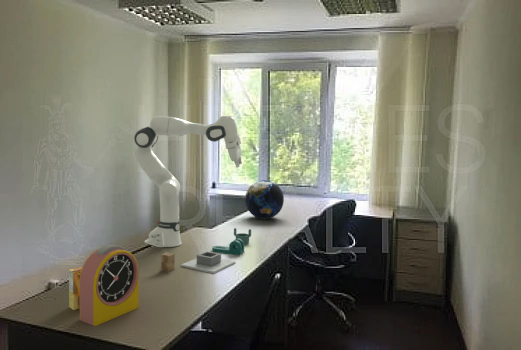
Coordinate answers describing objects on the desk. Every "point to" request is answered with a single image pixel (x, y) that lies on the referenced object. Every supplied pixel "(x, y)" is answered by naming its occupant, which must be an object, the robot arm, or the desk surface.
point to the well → (208, 262)
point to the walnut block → (167, 262)
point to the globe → (264, 199)
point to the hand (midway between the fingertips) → (239, 165)
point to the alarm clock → (108, 285)
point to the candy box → (74, 288)
